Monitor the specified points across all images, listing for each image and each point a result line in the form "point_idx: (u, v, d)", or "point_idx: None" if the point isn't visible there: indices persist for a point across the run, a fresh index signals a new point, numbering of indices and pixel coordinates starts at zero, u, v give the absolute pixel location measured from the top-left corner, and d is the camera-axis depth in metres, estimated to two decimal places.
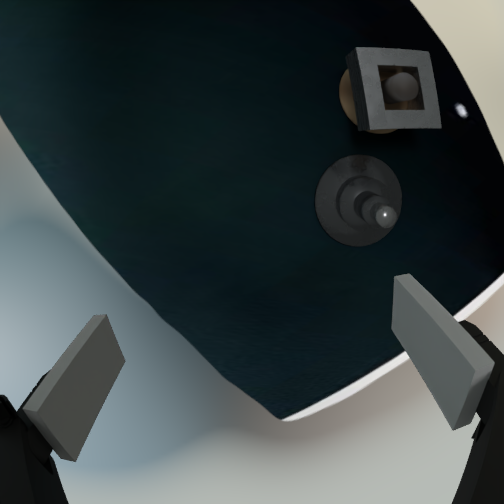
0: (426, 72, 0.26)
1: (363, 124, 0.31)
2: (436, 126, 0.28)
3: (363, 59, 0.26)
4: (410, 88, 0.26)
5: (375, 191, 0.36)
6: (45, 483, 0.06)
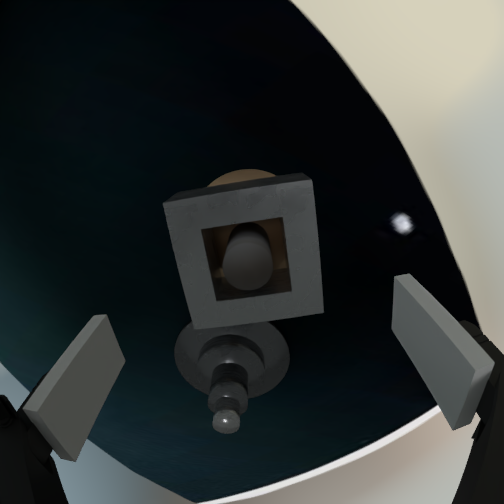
0: (301, 224, 0.19)
1: None
2: (313, 312, 0.21)
3: (176, 223, 0.19)
4: (256, 270, 0.19)
5: (240, 362, 0.29)
6: (45, 483, 0.06)
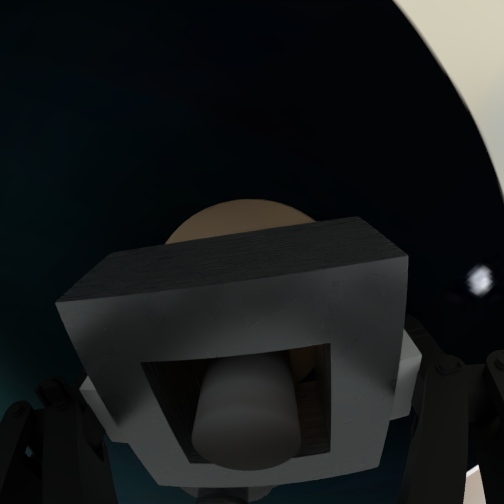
0: (370, 353, 0.08)
1: None
2: (362, 468, 0.10)
3: (87, 344, 0.08)
4: (264, 449, 0.08)
5: None
6: (95, 472, 0.06)
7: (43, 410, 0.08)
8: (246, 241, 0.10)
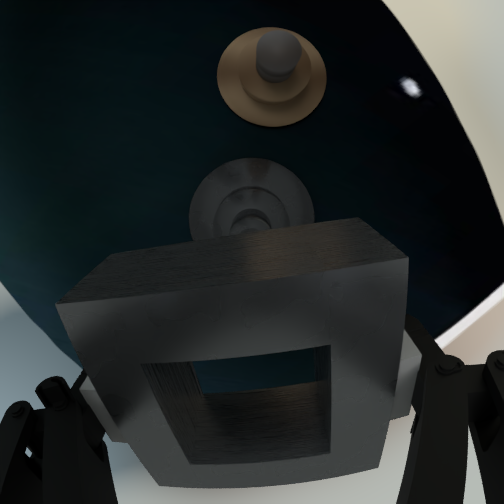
0: (370, 354, 0.08)
1: None
2: (362, 469, 0.10)
3: (88, 346, 0.08)
4: (287, 52, 0.18)
5: (263, 208, 0.27)
6: (95, 472, 0.06)
7: (43, 410, 0.08)
8: (246, 242, 0.10)
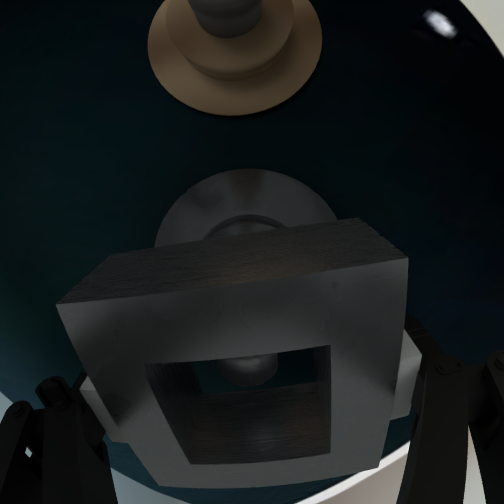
0: (370, 354, 0.08)
1: None
2: (362, 469, 0.10)
3: (88, 346, 0.08)
4: None
5: None
6: (95, 472, 0.06)
7: (43, 410, 0.08)
8: (246, 243, 0.10)
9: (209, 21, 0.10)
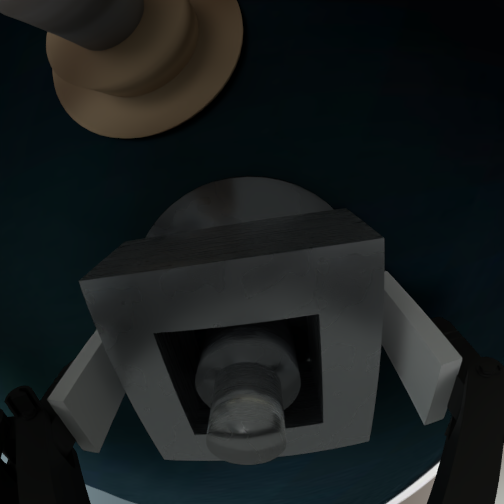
0: (354, 324, 0.09)
1: None
2: (354, 442, 0.11)
3: (107, 318, 0.09)
4: None
5: None
6: (67, 477, 0.06)
7: (16, 418, 0.08)
8: (246, 229, 0.11)
9: (76, 37, 0.07)
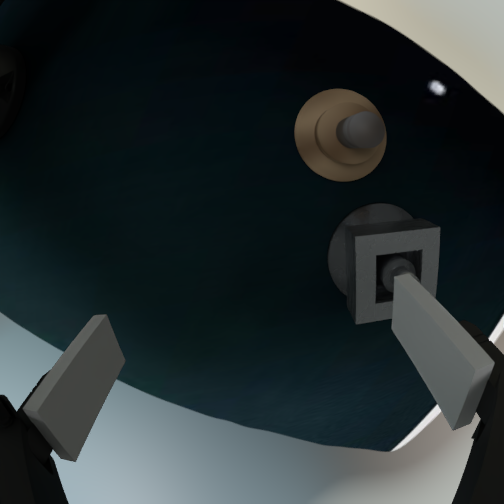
0: (431, 253, 0.27)
1: (351, 310, 0.32)
2: None
3: (361, 250, 0.28)
4: (374, 129, 0.23)
5: None
6: (45, 483, 0.06)
7: None
8: (394, 223, 0.30)
9: (354, 147, 0.26)
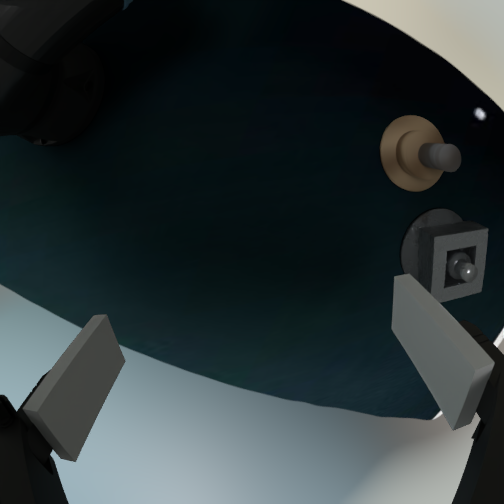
0: (481, 248, 0.33)
1: None
2: (477, 291, 0.35)
3: (437, 247, 0.33)
4: (454, 158, 0.27)
5: None
6: (45, 483, 0.06)
7: None
8: (455, 225, 0.35)
9: (434, 168, 0.31)
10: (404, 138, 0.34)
